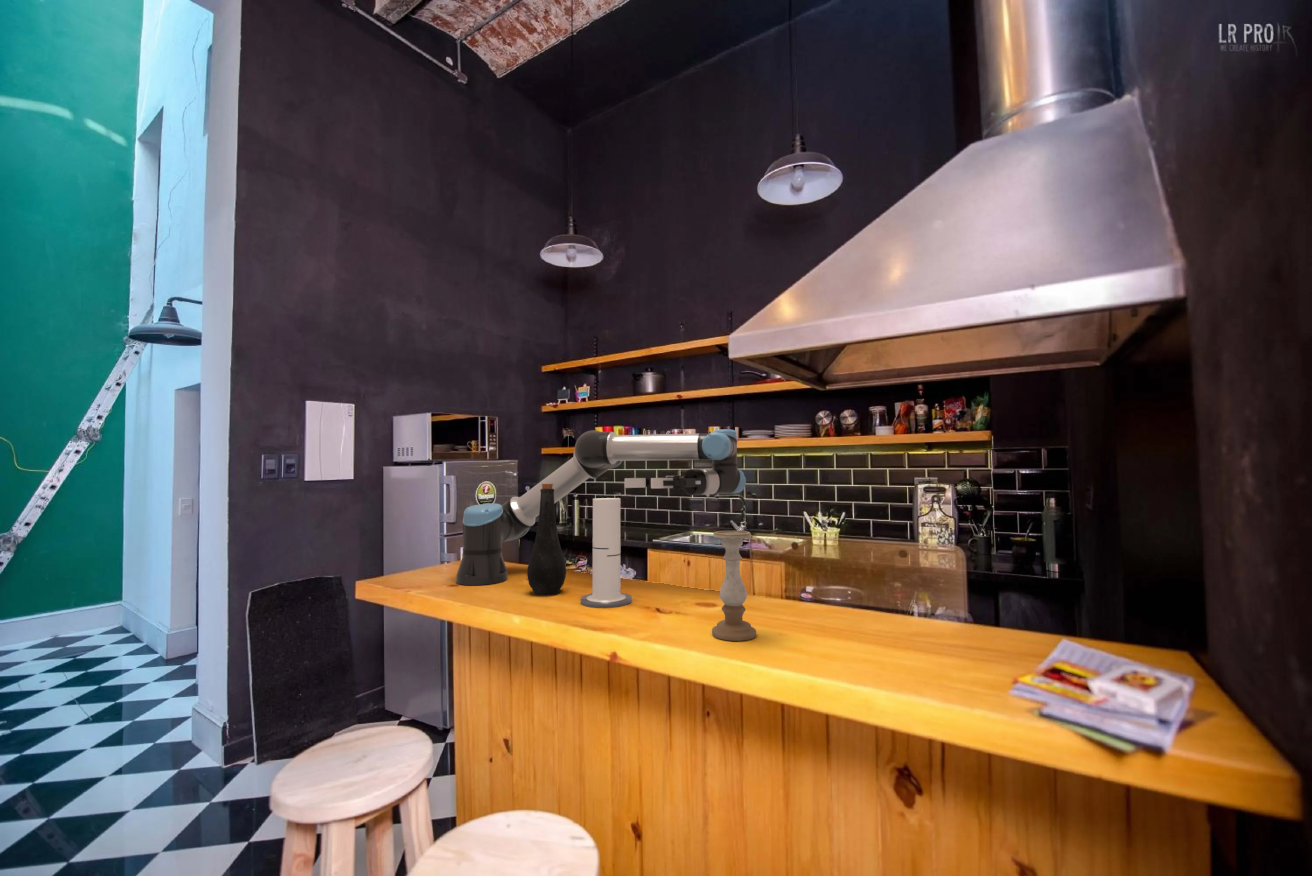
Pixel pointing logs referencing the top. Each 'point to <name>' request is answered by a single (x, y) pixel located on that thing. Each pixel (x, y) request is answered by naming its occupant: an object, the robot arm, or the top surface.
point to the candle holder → (733, 591)
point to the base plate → (606, 601)
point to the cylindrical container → (606, 549)
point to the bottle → (546, 550)
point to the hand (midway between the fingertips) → (637, 483)
